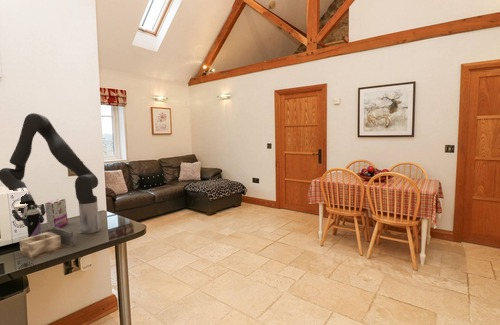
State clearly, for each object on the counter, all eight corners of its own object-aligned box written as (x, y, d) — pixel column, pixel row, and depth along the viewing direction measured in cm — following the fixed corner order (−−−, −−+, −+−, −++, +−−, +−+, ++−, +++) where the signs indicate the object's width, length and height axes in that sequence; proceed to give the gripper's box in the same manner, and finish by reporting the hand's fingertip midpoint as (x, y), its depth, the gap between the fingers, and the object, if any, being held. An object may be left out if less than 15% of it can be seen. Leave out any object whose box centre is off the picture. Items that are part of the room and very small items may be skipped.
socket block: (31, 257, 122) (30, 244, 122) (20, 252, 128) (19, 239, 128) (61, 247, 132) (60, 235, 132) (49, 243, 139) (48, 231, 138)
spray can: (31, 247, 136) (27, 208, 134) (27, 245, 139) (23, 207, 137) (44, 243, 141) (40, 205, 139) (39, 241, 144) (36, 204, 142)
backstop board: (33, 261, 121) (31, 244, 120) (17, 253, 129) (15, 237, 129) (74, 247, 135) (72, 232, 134) (57, 241, 144) (55, 226, 143)
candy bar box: (60, 223, 173) (58, 198, 171) (68, 223, 173) (65, 198, 171) (47, 230, 162) (44, 203, 160) (55, 229, 162) (52, 202, 160)
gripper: (6, 196, 135) (19, 223, 130) (40, 191, 148) (53, 215, 143) (3, 205, 138) (16, 232, 134) (37, 199, 151) (49, 224, 146)
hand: (35, 223), depth 138 cm, fingers closed on spray can, 5 cm apart
